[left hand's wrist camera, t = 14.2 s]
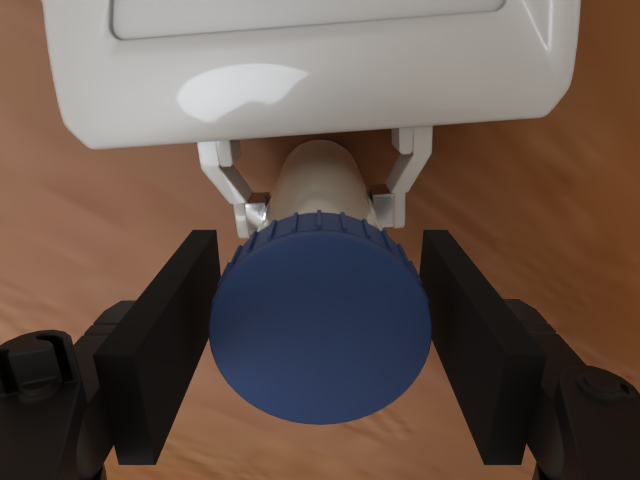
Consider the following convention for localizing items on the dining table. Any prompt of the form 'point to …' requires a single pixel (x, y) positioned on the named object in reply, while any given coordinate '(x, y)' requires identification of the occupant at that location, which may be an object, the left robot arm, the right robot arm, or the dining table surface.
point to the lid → (320, 319)
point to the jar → (320, 185)
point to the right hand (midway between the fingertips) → (322, 229)
